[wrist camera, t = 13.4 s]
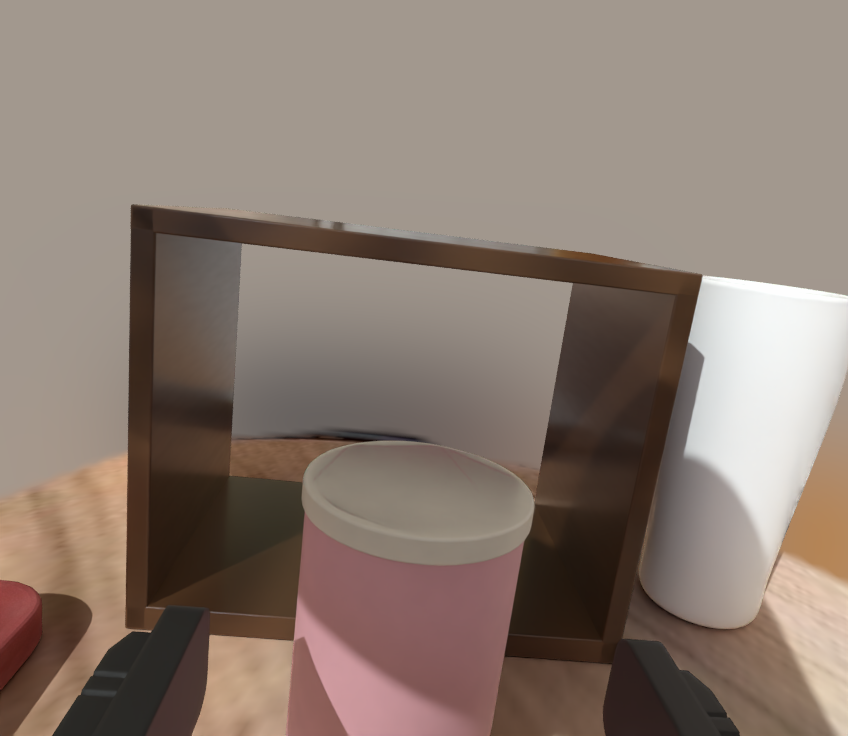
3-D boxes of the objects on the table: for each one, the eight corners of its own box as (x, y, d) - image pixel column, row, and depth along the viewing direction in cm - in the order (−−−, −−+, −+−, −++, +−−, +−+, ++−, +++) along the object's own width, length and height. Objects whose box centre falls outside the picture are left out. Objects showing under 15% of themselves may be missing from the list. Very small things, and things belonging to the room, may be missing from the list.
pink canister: (253, 927, 14) (284, 526, 12) (291, 735, 19) (318, 431, 17) (488, 937, 15) (561, 550, 12) (463, 746, 20) (511, 450, 18)
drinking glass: (594, 563, 32) (654, 269, 29) (704, 558, 34) (772, 283, 31) (680, 653, 26) (770, 290, 22) (809, 640, 28) (910, 305, 24)
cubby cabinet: (124, 628, 23) (129, 204, 20) (214, 490, 35) (227, 208, 31) (616, 664, 25) (703, 274, 21) (544, 520, 36) (592, 253, 33)
